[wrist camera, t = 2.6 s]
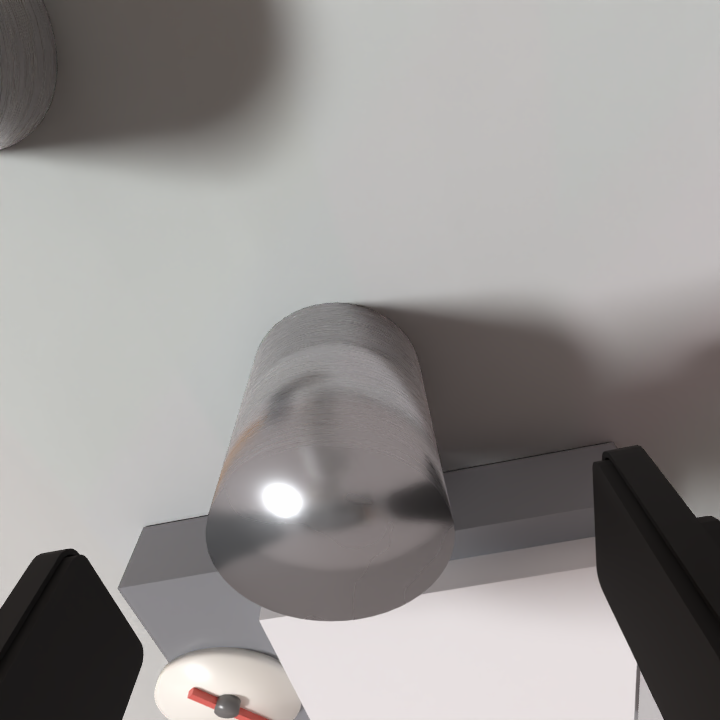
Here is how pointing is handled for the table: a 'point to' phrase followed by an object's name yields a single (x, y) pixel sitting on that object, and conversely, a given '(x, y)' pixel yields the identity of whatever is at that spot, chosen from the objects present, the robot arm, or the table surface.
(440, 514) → the cylinder
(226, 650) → the scale
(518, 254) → the table surface
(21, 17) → the cylinder
